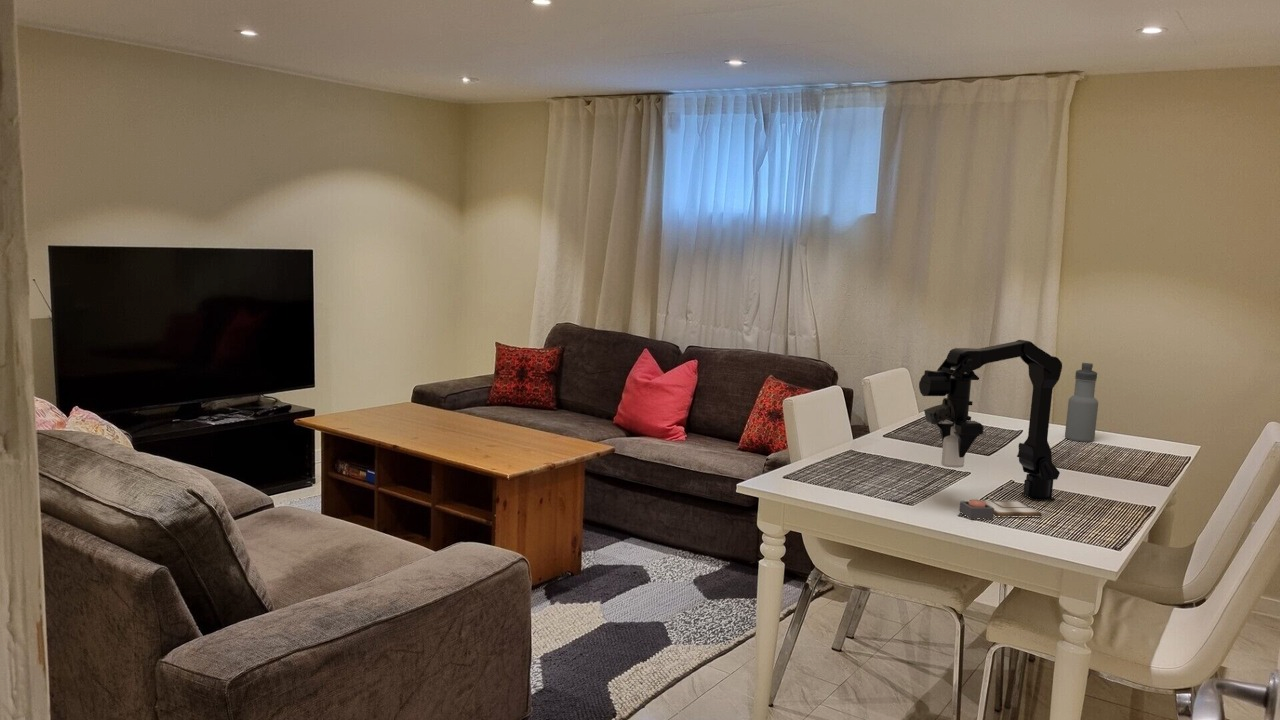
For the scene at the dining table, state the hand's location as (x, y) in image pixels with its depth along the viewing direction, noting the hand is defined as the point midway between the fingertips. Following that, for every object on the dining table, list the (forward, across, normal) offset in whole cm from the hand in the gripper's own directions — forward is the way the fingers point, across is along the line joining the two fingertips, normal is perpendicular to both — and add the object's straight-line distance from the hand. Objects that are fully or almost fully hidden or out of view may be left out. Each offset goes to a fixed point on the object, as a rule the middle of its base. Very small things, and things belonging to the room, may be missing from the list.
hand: (953, 453), depth 246 cm
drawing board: (+13, +10, +11) cm, 20 cm away
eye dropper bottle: (+4, 0, 0) cm, 4 cm away
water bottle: (+13, -76, +88) cm, 117 cm away
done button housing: (+13, +14, 0) cm, 19 cm away
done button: (+11, +14, 0) cm, 18 cm away
